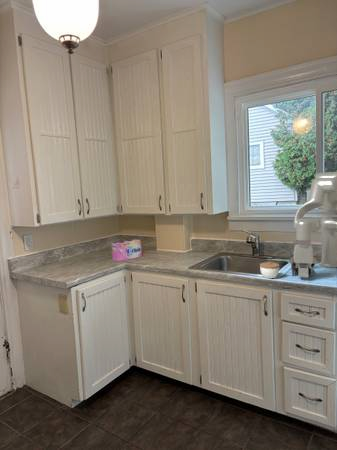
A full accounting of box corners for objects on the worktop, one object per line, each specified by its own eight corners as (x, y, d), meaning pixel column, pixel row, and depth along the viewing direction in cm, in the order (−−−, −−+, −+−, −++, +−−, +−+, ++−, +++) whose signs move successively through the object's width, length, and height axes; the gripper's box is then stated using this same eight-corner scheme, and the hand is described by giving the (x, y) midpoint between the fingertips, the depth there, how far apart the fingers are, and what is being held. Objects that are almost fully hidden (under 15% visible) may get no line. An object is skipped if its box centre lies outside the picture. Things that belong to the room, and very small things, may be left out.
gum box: (137, 254, 272) (137, 238, 270) (143, 256, 266) (142, 239, 264) (112, 260, 257) (111, 242, 255) (117, 261, 251) (116, 243, 249)
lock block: (298, 273, 190) (298, 264, 189) (307, 273, 188) (307, 264, 188) (298, 276, 184) (298, 267, 183) (308, 277, 182) (308, 267, 181)
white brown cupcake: (275, 274, 198) (275, 259, 197) (282, 279, 188) (282, 263, 187) (257, 275, 198) (257, 260, 197) (263, 280, 187) (263, 264, 186)
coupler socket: (291, 268, 210) (291, 254, 209) (310, 269, 207) (310, 254, 206) (292, 276, 194) (292, 260, 193) (312, 276, 190) (312, 261, 189)
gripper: (287, 243, 183) (287, 275, 185) (321, 244, 178) (320, 277, 180) (286, 241, 190) (286, 272, 192) (319, 241, 185) (319, 273, 187)
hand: (303, 274), depth 186 cm, fingers closed on lock block, 5 cm apart
